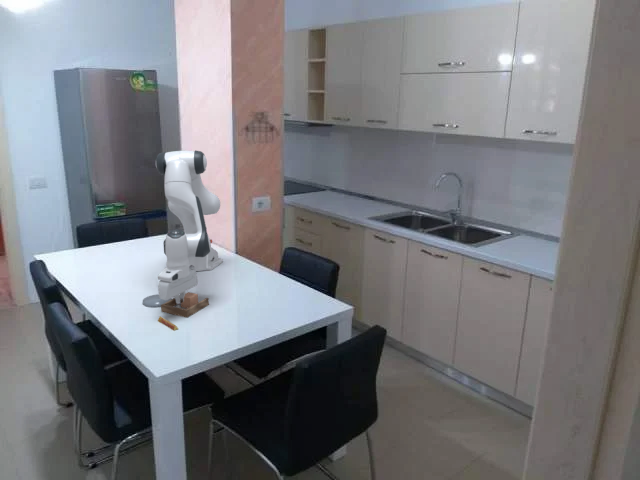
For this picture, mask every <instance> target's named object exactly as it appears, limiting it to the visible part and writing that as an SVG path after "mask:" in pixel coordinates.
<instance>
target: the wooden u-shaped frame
mask: <svg viewBox="0 0 640 480" xmlns="http://www.w3.org/2000/svg"><path fill="white" fill-rule="evenodd" d="M179 297H180V296H179ZM178 305H179V304H177V303H176V299H175V298H174V297H173V298H172V300H170V301H168V302H166V303H164V304H162V305H161V307H160V309H161V310H160V311H161V313H166V314H168V315H169V314H170V315H174V316H179V317H183V318H189V317H191V316H193V315H194V314H196V313H197V312H199V311H201V310H203V309H204V308H206V307H208V306H209V305H210V302H209V298H208V297H206V298H204V299H202V300H201V301H198V303H197V304H195V305H193V306H191V307H190V308H183V307H178Z"/></svg>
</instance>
